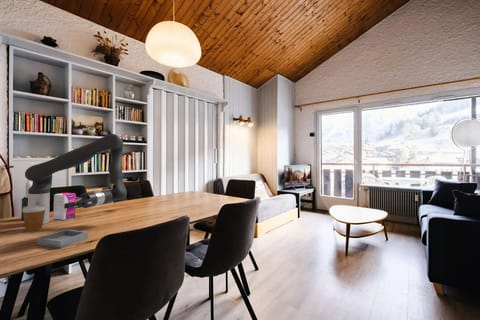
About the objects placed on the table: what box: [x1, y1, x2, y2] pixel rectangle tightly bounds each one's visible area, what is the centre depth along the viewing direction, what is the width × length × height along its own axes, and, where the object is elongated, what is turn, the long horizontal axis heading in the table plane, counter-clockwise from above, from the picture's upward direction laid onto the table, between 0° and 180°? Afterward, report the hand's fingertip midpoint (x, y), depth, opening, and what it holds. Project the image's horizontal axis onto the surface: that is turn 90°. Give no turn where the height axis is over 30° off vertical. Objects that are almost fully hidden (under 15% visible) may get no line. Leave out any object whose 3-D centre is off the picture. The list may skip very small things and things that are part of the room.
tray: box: [36, 228, 89, 249], centre depth 103 cm, size 13×13×3 cm
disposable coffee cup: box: [21, 205, 46, 233], centre depth 118 cm, size 10×10×12 cm
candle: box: [20, 179, 33, 221], centre depth 137 cm, size 5×5×25 cm
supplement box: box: [52, 192, 77, 222], centre depth 103 cm, size 6×6×12 cm
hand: (59, 205), depth 101 cm, fingers closed on supplement box, 6 cm apart
